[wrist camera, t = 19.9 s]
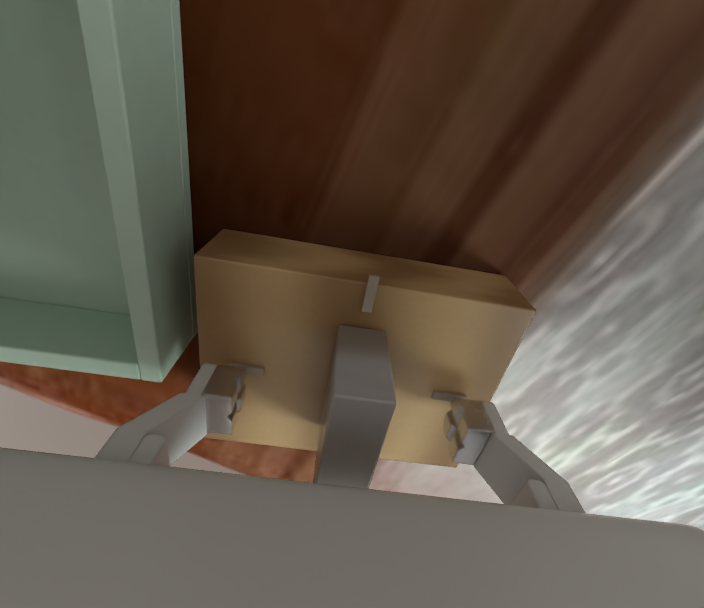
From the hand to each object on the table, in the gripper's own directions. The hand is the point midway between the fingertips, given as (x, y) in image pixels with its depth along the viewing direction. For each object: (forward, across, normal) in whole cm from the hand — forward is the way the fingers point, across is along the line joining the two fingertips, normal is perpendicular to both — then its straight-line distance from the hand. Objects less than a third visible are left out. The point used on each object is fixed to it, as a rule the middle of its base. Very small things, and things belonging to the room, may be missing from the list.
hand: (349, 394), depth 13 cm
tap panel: (+4, 0, 0) cm, 4 cm away
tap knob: (+1, 0, 0) cm, 1 cm away
